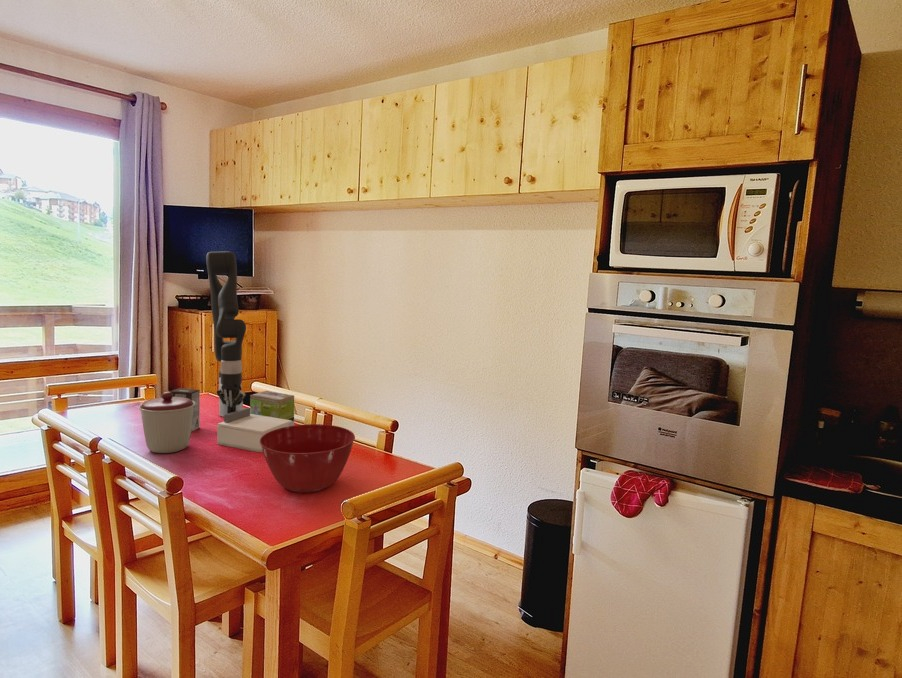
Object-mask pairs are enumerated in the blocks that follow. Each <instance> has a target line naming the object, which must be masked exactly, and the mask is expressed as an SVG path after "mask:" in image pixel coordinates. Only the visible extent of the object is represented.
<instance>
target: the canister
mask: <svg viewBox="0 0 902 678" xmlns="http://www.w3.org/2000/svg"><path fill="white" fill-rule="evenodd" d="M194 406H195V402H194V401H192V400H190V399H188V398H184V397H173V394H172V393H171V391H164V392H162V394H161V397H155V398H151V399H148V400H145V401H144V402H142V403H141V404H139V405H138V408H137V409H138V410H140V414H141V420H142V421H141V422H142V427H143V428H142V429H143V434H144V439H145V444H146V447H147V449H148V450H149V451H150V452H152V453H155V454H170V453H177V452H179V451H182V450H185V449H186V448H187V447H188V446H189V444H190V440H191V439H190V438H191V433H192V432H191V426H192V416H193V407H194Z"/></svg>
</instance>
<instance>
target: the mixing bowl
mask: <svg viewBox="0 0 902 678" xmlns="http://www.w3.org/2000/svg"><path fill="white" fill-rule="evenodd" d="M355 438H356V436H355V434H354V432H353V431H351V430H349V429H347V428H344V427H342V426H337V425H331V424H321V423H319V424H318V423H317V424H316V423H315V424H311V423H309V424H307V423H306V424H296V425H295V424H294V426H289V427H284V428H280V429H276V430H273V431H270V432H268V433H266V434H265V435H263V436H262V437H261V438H260V444H261V446H262V449H263V452H262V453H263V456H264V459H265V461H266V463H267V466H268V468H269V470H270V472H271V474H272V476H273V477H274V479H275V480H276V482H277V483H278V484H279V485H280V486H281V487H283V488H285V489H287V490H289V491H291V492H293V491H294V493H299V494H309V493H310V494H311V493H316V492H320V491H323V490H325V489H327V488H328V487H330V486H331V485H333V484H334V483H335V482H336V481H337V480H338V479H339V477H340V476H341V474H342V472H344V471H343V470H344V468H345V467H346V465H347V462H348V460H349V457H350V454H351V450H352V448H353V445H354V444H353V443H354V441H355Z"/></svg>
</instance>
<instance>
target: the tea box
mask: <svg viewBox="0 0 902 678" xmlns="http://www.w3.org/2000/svg"><path fill="white" fill-rule="evenodd" d="M249 397H250V398H249V401H250V402H249V405H250V407H249V408H250V414H255V415H261V416H268V417H274V418H280V419H286V420H292V422H291V423H289V426H295V395H294V394H288V393H281V392H277V391H270V390H264V391H261V392H257V393H254V394H250V395H249Z"/></svg>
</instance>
